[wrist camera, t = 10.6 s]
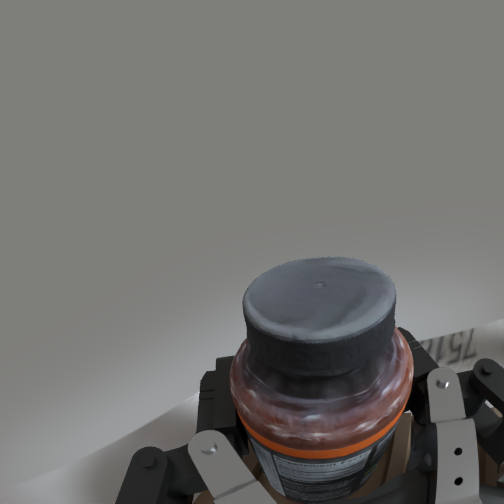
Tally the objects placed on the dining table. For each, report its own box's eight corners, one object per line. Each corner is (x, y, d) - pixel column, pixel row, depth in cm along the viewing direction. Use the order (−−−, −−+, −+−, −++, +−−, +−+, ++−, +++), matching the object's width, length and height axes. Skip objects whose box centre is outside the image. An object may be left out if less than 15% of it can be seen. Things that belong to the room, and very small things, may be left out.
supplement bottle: (286, 415, 14) (257, 242, 10) (381, 425, 12) (416, 240, 8) (247, 495, 9) (154, 339, 5) (361, 515, 7) (458, 373, 3)
